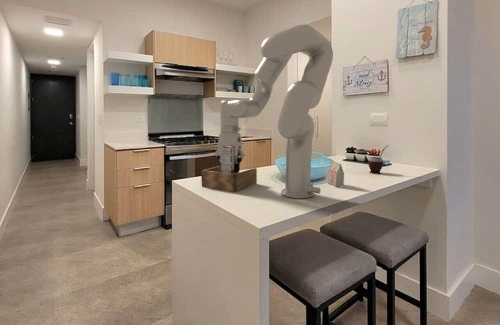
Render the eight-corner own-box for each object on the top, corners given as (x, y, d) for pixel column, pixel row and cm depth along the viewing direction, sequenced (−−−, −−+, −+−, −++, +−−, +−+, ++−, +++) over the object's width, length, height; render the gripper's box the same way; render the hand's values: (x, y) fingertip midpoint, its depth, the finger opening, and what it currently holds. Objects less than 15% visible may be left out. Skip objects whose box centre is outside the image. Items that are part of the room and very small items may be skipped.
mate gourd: (364, 172, 162) (366, 144, 160) (375, 171, 166) (377, 143, 163) (376, 175, 156) (378, 145, 153) (387, 173, 159) (389, 144, 156)
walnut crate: (256, 183, 136) (256, 168, 135) (235, 192, 122) (235, 174, 121) (225, 179, 145) (224, 164, 144) (201, 186, 131) (201, 170, 130)
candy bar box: (228, 179, 139) (228, 143, 137) (238, 179, 138) (239, 143, 135) (220, 184, 129) (220, 146, 126) (231, 185, 128) (231, 146, 125)
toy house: (335, 183, 138) (336, 161, 136) (343, 186, 131) (344, 163, 130) (327, 183, 137) (328, 161, 135) (335, 187, 130) (336, 164, 129)
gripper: (251, 130, 128) (251, 172, 131) (218, 128, 137) (219, 168, 140) (241, 131, 122) (242, 175, 125) (207, 129, 131) (208, 171, 134)
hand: (230, 171), depth 133 cm, fingers closed on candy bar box, 6 cm apart
